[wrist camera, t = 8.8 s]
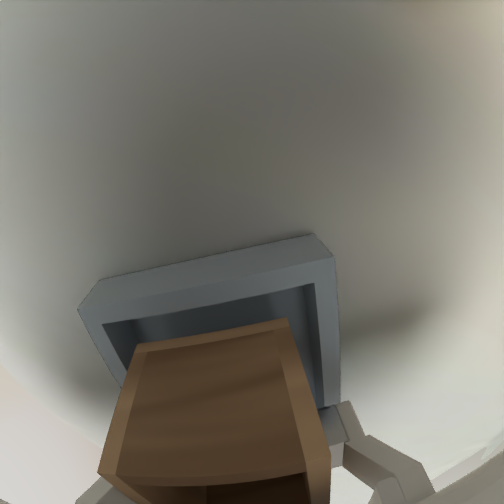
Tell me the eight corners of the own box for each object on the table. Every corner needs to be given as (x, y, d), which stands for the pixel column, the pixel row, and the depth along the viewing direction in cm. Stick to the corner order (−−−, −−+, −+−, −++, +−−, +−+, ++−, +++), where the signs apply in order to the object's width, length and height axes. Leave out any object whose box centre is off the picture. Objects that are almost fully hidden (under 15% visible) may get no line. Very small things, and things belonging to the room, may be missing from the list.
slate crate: (102, 276, 11) (76, 309, 8) (311, 230, 11) (334, 256, 9) (183, 431, 15) (180, 466, 12) (326, 406, 15) (339, 441, 12)
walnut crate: (137, 344, 9) (97, 472, 4) (286, 316, 9) (331, 455, 4) (199, 450, 12) (198, 540, 7) (304, 434, 12) (328, 525, 7)
